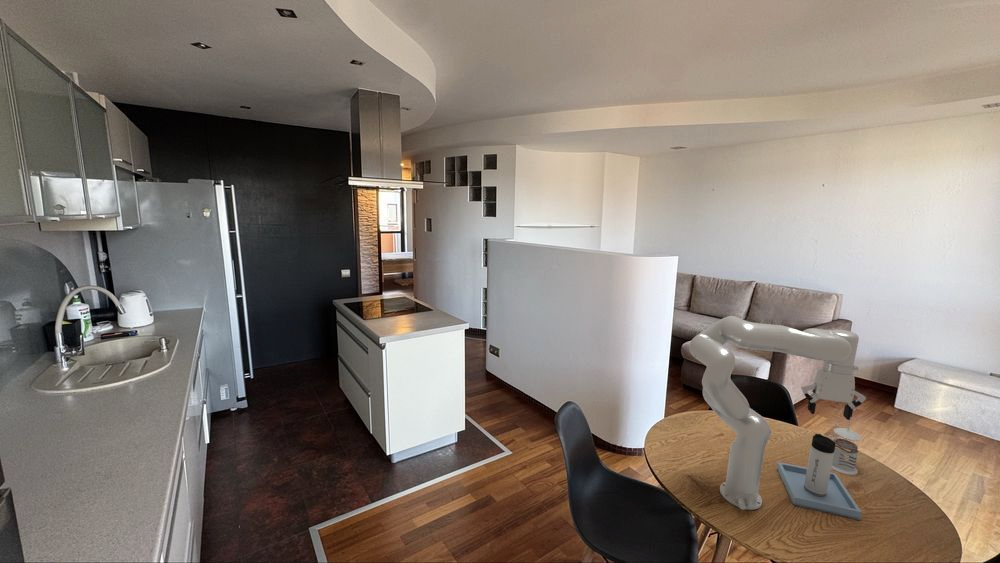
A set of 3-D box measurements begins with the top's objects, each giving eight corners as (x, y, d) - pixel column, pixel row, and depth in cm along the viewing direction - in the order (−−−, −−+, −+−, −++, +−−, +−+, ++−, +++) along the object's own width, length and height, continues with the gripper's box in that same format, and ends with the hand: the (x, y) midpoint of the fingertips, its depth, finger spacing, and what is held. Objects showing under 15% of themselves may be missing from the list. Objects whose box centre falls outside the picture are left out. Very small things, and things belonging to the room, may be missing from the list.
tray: (860, 520, 128) (861, 512, 128) (793, 505, 134) (794, 497, 134) (834, 480, 146) (835, 473, 146) (776, 468, 153) (777, 461, 152)
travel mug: (817, 484, 143) (827, 434, 139) (830, 497, 137) (840, 445, 133) (799, 483, 144) (807, 432, 140) (811, 496, 137) (820, 444, 133)
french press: (864, 476, 149) (877, 415, 144) (828, 472, 151) (840, 411, 146) (847, 460, 158) (859, 401, 154) (814, 456, 161) (824, 398, 156)
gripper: (864, 367, 132) (855, 414, 135) (802, 359, 138) (794, 405, 141) (876, 376, 125) (866, 426, 128) (809, 367, 131) (801, 415, 134)
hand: (828, 415), depth 135 cm, fingers open, 9 cm apart
